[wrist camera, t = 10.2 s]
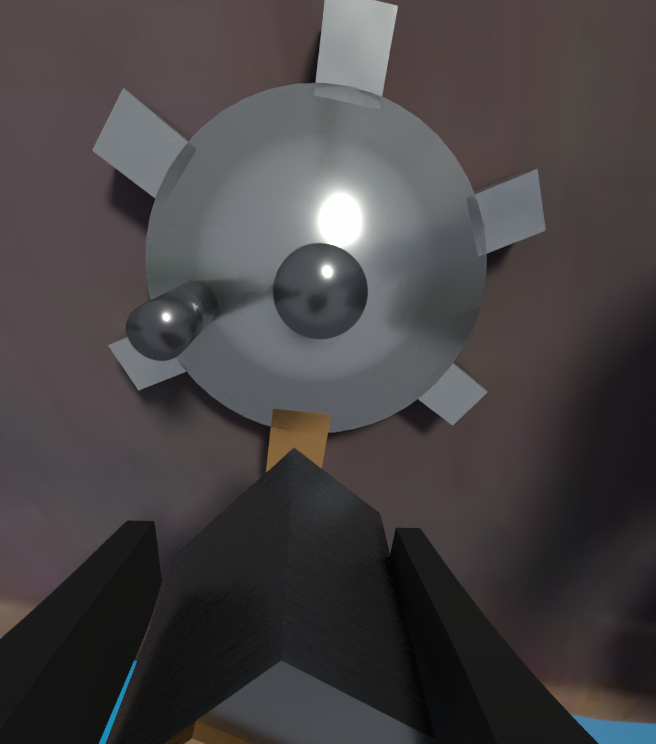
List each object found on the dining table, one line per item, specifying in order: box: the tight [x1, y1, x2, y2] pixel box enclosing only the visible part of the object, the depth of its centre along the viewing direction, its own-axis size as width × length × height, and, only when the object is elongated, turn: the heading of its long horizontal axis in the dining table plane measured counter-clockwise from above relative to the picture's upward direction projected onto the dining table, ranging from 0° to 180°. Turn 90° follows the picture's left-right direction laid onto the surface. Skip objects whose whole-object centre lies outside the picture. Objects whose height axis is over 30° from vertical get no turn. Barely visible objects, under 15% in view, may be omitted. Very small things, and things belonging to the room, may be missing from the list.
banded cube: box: [106, 448, 435, 744], centre depth 8 cm, size 3×5×5 cm
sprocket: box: [92, 0, 545, 472], centre depth 12 cm, size 16×16×5 cm
